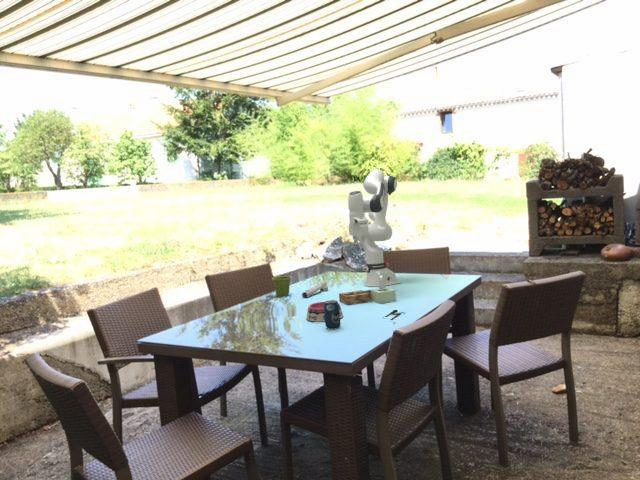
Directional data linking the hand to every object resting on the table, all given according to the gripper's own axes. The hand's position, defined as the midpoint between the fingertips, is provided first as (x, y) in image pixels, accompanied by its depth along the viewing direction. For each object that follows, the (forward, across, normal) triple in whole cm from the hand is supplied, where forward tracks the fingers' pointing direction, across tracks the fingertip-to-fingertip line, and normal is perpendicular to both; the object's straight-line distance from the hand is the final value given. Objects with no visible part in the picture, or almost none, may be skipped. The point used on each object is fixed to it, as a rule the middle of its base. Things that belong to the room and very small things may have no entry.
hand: (359, 243), depth 302 cm
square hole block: (+30, +19, +4) cm, 36 cm away
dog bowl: (+30, +35, -36) cm, 59 cm away
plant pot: (+31, -36, -38) cm, 61 cm away
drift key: (+30, +10, -2) cm, 32 cm away
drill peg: (+30, +19, +4) cm, 36 cm away
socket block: (+30, +10, -10) cm, 33 cm away
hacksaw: (+31, +56, -9) cm, 64 cm away
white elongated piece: (+31, -27, -20) cm, 46 cm away
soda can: (+30, +55, -40) cm, 74 cm away
